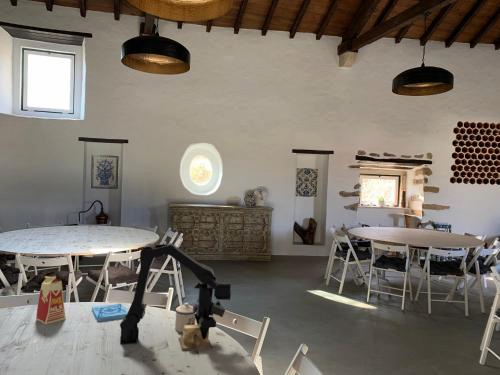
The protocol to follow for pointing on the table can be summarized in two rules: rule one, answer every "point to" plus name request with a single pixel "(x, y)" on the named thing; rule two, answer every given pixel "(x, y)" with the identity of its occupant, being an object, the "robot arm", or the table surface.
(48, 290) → the milk carton
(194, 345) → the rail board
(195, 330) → the tan notched block
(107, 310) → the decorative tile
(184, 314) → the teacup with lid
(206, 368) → the table surface
